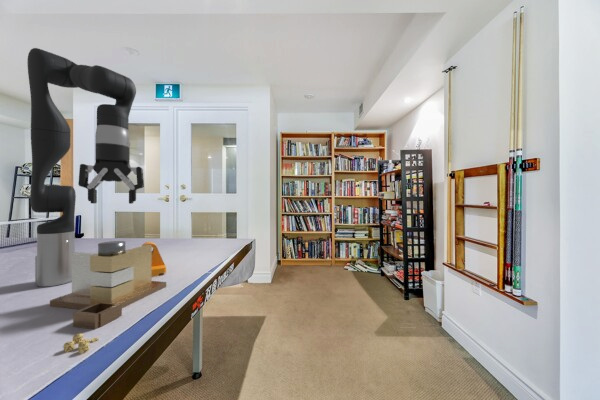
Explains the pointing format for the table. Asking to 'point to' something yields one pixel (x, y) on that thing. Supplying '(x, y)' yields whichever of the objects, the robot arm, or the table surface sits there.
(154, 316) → the table surface
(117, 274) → the hinge leaf
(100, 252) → the hinge pin
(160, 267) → the bracket
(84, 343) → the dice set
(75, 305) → the hinge base
